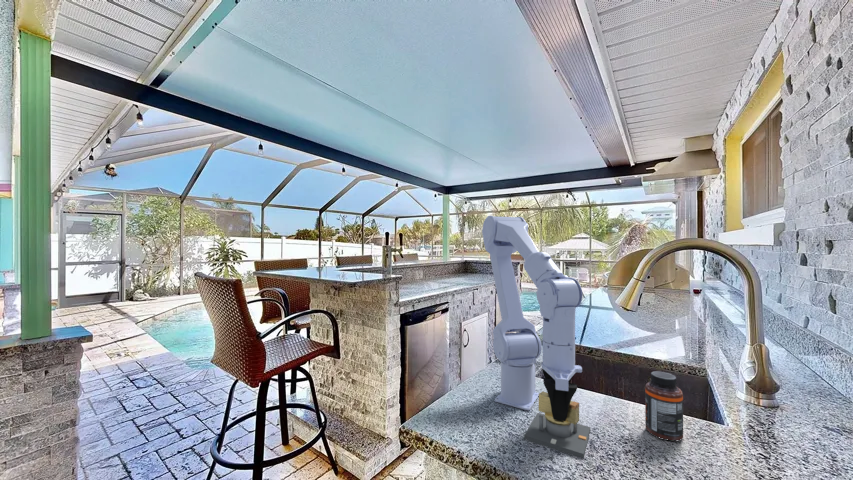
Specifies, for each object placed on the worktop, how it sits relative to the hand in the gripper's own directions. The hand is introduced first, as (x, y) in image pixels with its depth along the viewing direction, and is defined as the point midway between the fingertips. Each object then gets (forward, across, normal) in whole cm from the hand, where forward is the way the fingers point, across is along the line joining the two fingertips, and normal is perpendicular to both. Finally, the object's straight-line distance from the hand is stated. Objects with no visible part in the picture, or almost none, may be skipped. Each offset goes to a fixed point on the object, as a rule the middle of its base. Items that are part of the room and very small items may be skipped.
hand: (558, 413), depth 62 cm
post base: (+4, 0, 0) cm, 4 cm away
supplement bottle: (+4, +7, -20) cm, 21 cm away
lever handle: (+1, 0, 0) cm, 1 cm away
